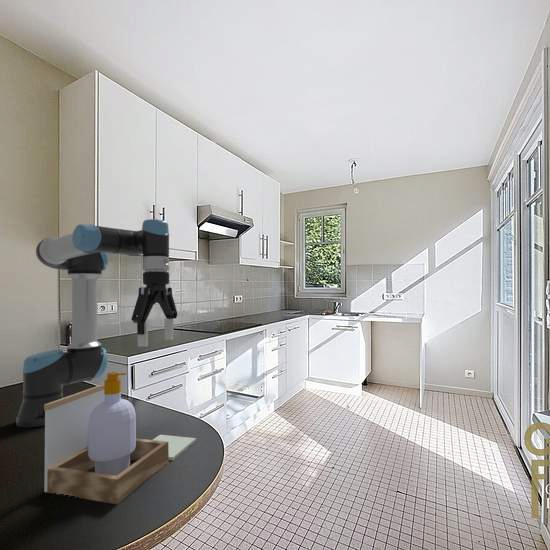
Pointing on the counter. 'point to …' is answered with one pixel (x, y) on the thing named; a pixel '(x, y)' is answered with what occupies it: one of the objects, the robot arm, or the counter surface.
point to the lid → (68, 426)
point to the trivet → (176, 444)
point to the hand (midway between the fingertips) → (156, 342)
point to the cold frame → (104, 487)
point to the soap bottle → (112, 430)
